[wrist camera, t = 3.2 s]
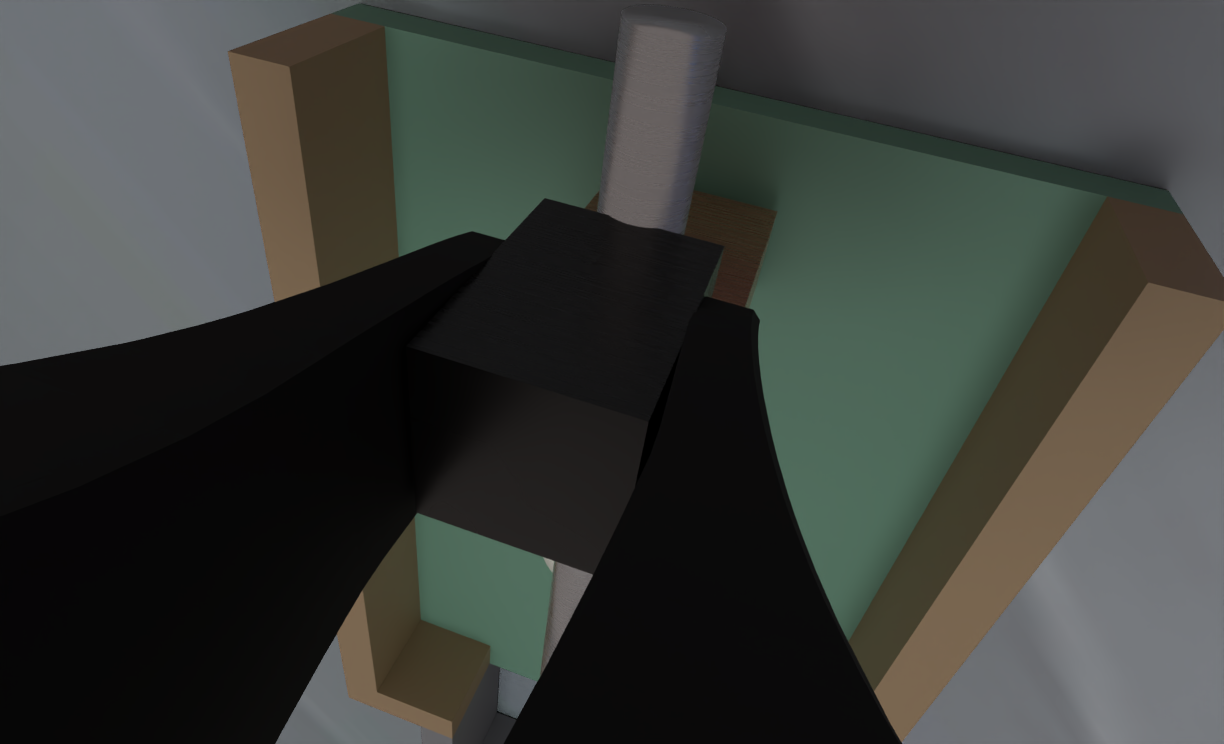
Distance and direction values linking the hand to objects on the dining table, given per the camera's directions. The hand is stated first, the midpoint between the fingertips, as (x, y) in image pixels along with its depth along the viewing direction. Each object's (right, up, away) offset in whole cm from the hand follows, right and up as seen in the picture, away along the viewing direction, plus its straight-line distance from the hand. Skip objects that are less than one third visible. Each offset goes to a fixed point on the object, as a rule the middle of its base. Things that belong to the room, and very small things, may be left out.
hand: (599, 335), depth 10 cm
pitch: (+1, -6, +14) cm, 15 cm away
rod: (+1, -2, +9) cm, 9 cm away
